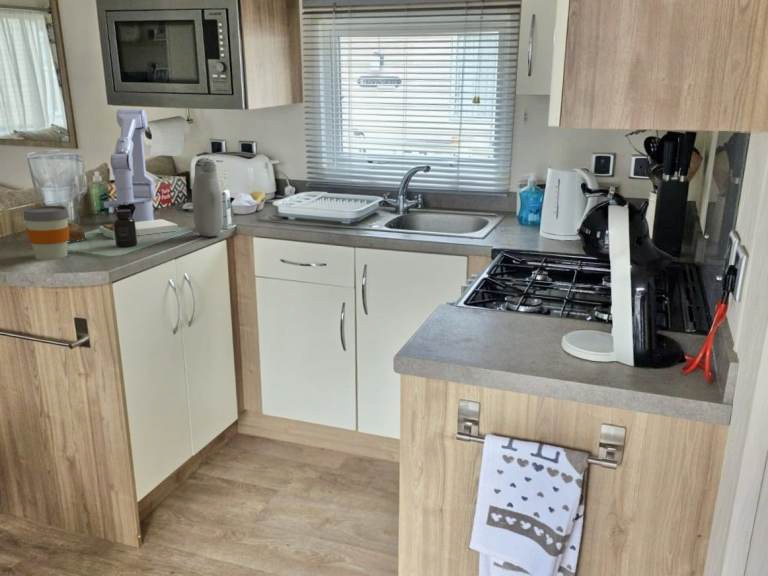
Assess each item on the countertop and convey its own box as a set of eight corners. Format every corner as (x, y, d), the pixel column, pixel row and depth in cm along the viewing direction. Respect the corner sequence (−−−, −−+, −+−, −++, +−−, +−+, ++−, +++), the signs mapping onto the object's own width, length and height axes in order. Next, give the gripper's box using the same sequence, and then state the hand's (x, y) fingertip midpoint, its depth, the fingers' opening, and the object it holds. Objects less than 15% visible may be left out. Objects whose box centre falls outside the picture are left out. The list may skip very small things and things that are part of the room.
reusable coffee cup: (33, 252, 215) (27, 206, 210) (76, 250, 218) (70, 205, 214) (25, 262, 203) (18, 213, 199) (70, 259, 206) (64, 211, 202)
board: (124, 230, 251) (123, 223, 251) (162, 225, 261) (162, 219, 260) (138, 236, 241) (137, 229, 240) (178, 231, 251) (177, 224, 250)
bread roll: (86, 251, 234) (94, 229, 234) (57, 242, 226) (65, 220, 226) (74, 246, 240) (81, 225, 241) (46, 238, 232) (53, 216, 233)
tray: (99, 232, 246) (98, 226, 245) (124, 230, 251) (123, 223, 251) (113, 239, 236) (112, 232, 235) (138, 236, 241) (137, 229, 240)
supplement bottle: (141, 244, 228) (138, 209, 225) (128, 248, 222) (124, 212, 219) (125, 242, 231) (121, 208, 227) (111, 246, 224) (107, 211, 221)
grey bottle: (189, 236, 242) (184, 157, 234) (213, 232, 249) (209, 156, 242) (205, 240, 236) (200, 159, 228) (229, 236, 243) (225, 158, 235)
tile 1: (115, 223, 247) (116, 230, 248) (103, 224, 245) (103, 231, 245) (120, 225, 244) (120, 232, 245) (107, 226, 241) (108, 233, 242)
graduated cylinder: (228, 229, 255) (226, 191, 251) (213, 229, 255) (210, 191, 251) (232, 226, 260) (230, 189, 256) (217, 226, 260) (214, 189, 256)
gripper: (107, 190, 230) (111, 229, 233) (148, 187, 239) (151, 225, 242) (100, 188, 235) (104, 226, 238) (141, 185, 244) (144, 222, 248)
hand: (127, 225), depth 241 cm, fingers closed
